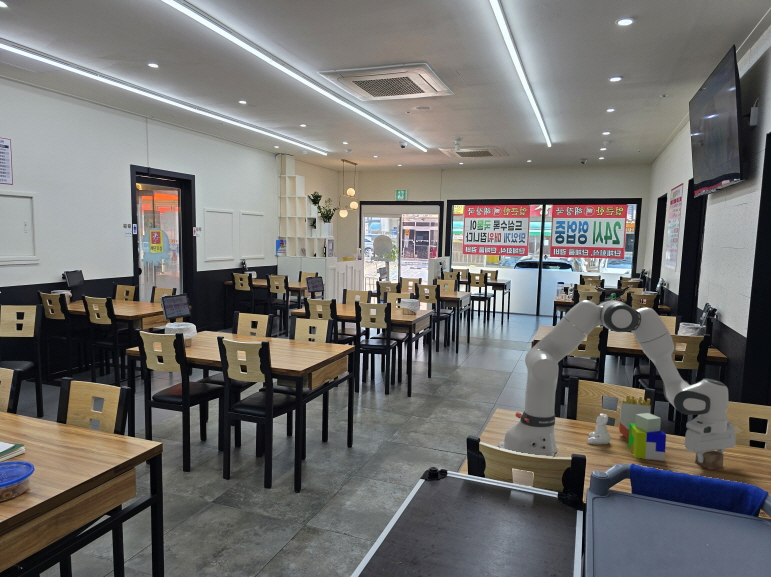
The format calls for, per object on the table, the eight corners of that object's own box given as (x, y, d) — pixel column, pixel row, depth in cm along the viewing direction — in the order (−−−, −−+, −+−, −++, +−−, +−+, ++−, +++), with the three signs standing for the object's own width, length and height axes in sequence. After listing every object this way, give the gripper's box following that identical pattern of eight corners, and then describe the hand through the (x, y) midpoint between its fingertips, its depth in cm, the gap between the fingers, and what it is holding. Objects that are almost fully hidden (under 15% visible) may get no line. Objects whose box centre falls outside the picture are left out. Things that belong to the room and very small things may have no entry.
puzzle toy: (664, 460, 187) (666, 434, 186) (635, 458, 189) (637, 432, 188) (655, 450, 197) (657, 425, 196) (628, 447, 199) (629, 423, 198)
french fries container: (618, 433, 214) (620, 392, 212) (647, 437, 210) (649, 395, 208) (619, 437, 209) (621, 395, 208) (648, 441, 205) (651, 398, 204)
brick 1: (647, 432, 189) (648, 419, 188) (635, 426, 194) (635, 414, 194) (660, 430, 190) (660, 418, 190) (647, 425, 196) (648, 412, 196)
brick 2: (710, 469, 180) (711, 456, 180) (695, 462, 186) (696, 449, 185) (722, 467, 182) (723, 454, 181) (707, 460, 188) (708, 447, 187)
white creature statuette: (589, 436, 211) (590, 408, 210) (611, 439, 207) (613, 411, 206) (586, 443, 202) (588, 414, 201) (610, 448, 198) (611, 418, 197)
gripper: (725, 418, 188) (723, 454, 190) (682, 423, 182) (680, 460, 184) (741, 424, 182) (739, 461, 184) (698, 429, 176) (695, 467, 178)
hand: (709, 460), depth 184 cm, fingers closed on brick 2, 6 cm apart
